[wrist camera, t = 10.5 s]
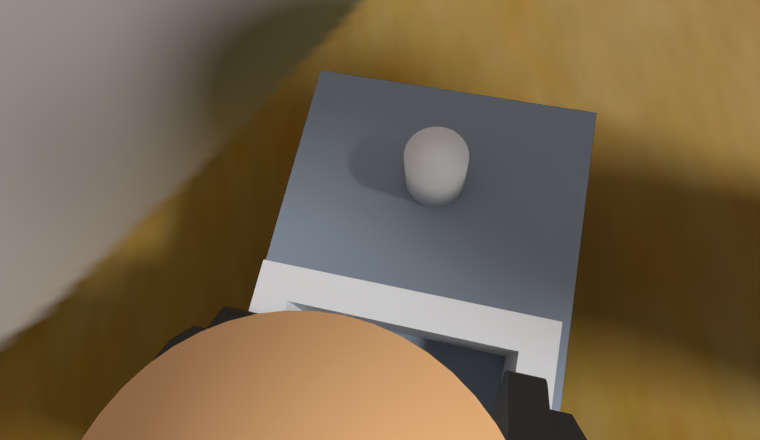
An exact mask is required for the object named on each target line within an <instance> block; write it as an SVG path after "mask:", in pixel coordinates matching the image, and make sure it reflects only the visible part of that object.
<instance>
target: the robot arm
mask: <svg viewBox="0 0 760 440" xmlns="http://www.w3.org/2000/svg"><path fill="white" fill-rule="evenodd" d="M254 314H259V313H254V312H250V311H245V310H241V309H237V308H232V307H224V308H223V309H222V310H221V311H220V312H219V313H218V315H217V316H216V317H215V318H214V320H213V321H212V322H211V323H210V325H209V326H208V327H207V329H209V328H212V327H214V326H217V325H219V324H222V323H224V322H227V321H230V320H234V319H238V318H242V317H246V316H250V315H254ZM204 330H206V329H205V328H201V327H197V326H193V327H191V328H189V329H188V330H186V331H184V332H183V333H181V334H180V335H178V336H176V337H175V338H173V339H171V340H170V341H169V342H168V343H167V344H166V345H165V347H164V348H163V349H162V350H161V351H160V353H159V354H158V355H157V356H156V357H155V358H154V360H155V359H156V358H158V357H159V356H161V355H162V354H163V353H165V352H166V351H168V350H169V349H170V348H172V347H173V346H175V345H177V344H179V343H181V342H183V341H184V340H186V339H188V338H190V337H192V336H194V335H195V334H197V333H199V332H201V331H204ZM491 418H492V419H493V420H494V422H495V423H496V424H497V426H498V428H499V430H500V431H501V433H502V435H503V437H504V438H505V440H587V439H586V437H585V436H584V434H583V432H582V431H581V429H580V427H579V426H578V424H577V422H576V421H575V419H574V417H573V416H572V414H568V413H564V412H559V411H555V410H551V409H550V405H549V394H548V384H547V380H546V379H545V378H540V377H536V376H531V375H527V374H523V373H518V372H514V371H509V370H506V371H505V373H504V375H503V378H502V382H501V385H500V389H499V392H498V396H497V399H496V403H495V406H494V410H493V413H492V417H491Z"/></svg>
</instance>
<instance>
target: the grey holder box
mask: <svg viewBox="0 0 760 440" xmlns="http://www.w3.org/2000/svg"><path fill="white" fill-rule="evenodd" d="M595 120H596V113H593V112H587V111H580V110H574V109H567V108H561V107H554V106H548V105H542V104H535V103H529V102H522V101H516V100H509V99H503V98H496V97H490V96H483V95H477V94H470V93H464V92H457V91H451V90H444V89H438V88H431V87H425V86H418V85H412V84H405V83H399V82H392V81H386V80H379V79H373V78H366V77H360V76H353V75H347V74H340V73H334V72H327V71H320V74H319V78H318V81H317V85H316V88H315V92H314V95H313V99H312V102H311V106H310V109H309V112H308V116H307V119H306V123H305V126H304V130H303V133H302V137H301V140H300V144H299V147H298V150H297V154H296V157H295V161H294V164H293V168H292V171H291V175H290V178H289V181H288V185H287V188H286V192H285V195H284V199H283V202H282V206H281V209H280V213H279V216H278V219H277V223H276V226H275V230H274V233H273V237H272V240H271V244H270V247H269V250H268V254H267V257H266V260H264V259H263V263H262V266H261V270H260V273H259V277H258V280H257V283H256V287H255V290H254V294H253V297H252V301H251V304H250V307H249V311H250V312H254V313H259V314H260V313H268V312H277V311H285V310H289V311H319V312H326V313H332V314H339V315H345V316H348V317H352V318H355V319H359V320H362V321H366V322H369V323H372V324H375V325H377V326H379V327H382V328H384V329H386V330H388V331H391V332H393V333H395V334H397V335H400V336H402V337H403V338H405V339H407V340H408V341H410V342H411V343H413V344H415V345H416V346H418V347H420V348H421V349H423V350H424V351H426V352H428V353H429V354H430V355H431V356H433V357H434V358H435V359H436V360H438V361H439V362H440V363H441V364H443V365H444V366H445V367H446V368H448V369H449V370H450V371H451V372H453V374H454V375H455V376H456V377H457V378H458V379H459V380H460V381H461V382H462V383H463V384H464V385H465V386H466V387H467V388H468V389H469V390H470V391H471V392H472V393H473V394H474V395H475V396H476V398H477V399H478V400H479V402H480V403H481V404H482V406H483V407H484V408H485V410H486V411H487V412H488V414H489V415H490V416H491V417H492V413H493V410H494V406H495V403H496V399H497V396H498V392H499V389H500V385H501V382H502V378H503V375H504V373H505V371H506V370H509V371H514V372H518V373H523V374H527V375H531V376H536V377H540V378H545V379H546V380H547V384H548V394H549V405H550V409H551V410H555V411H559V412H560V407H561V398H562V390H563V382H564V374H565V366H566V358H567V349H568V341H569V333H570V325H571V317H572V308H573V300H574V292H575V284H576V276H577V267H578V259H579V251H580V243H581V235H582V227H583V218H584V210H585V202H586V194H587V186H588V177H589V169H590V161H591V153H592V145H593V137H594V128H595Z"/></svg>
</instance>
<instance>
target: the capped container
mask: <svg viewBox="0 0 760 440" xmlns="http://www.w3.org/2000/svg"><path fill="white" fill-rule="evenodd" d="M81 440H505V438H504V437H503V435H502V433H501V431H500V430H499V428H498V426H497V424H496V423H495V422H494V420H493V419H492V418H491V416H490V415H489V414H488V412H487V411H486V410H485V408H484V407H483V406H482V404H481V403H480V402H479V400H478V399H477V398H476V396H475V395H474V394H473V393H472V392H471V391H470V390H469V389H468V388H467V387H466V386H465V385H464V384H463V383H462V382H461V381H460V380H459V379H458V378H457V377H456V376H455V375H454V374H453V372H451V371H450V370H449V369H448V368H446V367H445V366H444V365H443V364H441V363H440V362H439V361H438V360H436V359H435V358H434V357H433V356H431V355H430V354H429V353H428V352H426V351H424V350H423V349H421V348H420V347H418V346H416V345H415V344H413V343H411V342H410V341H408V340H407V339H405V338H403V337H402V336H400V335H397V334H395V333H393V332H391V331H388V330H386V329H384V328H382V327H379V326H377V325H375V324H372V323H369V322H366V321H362V320H359V319H355V318H352V317H348V316H345V315H339V314H332V313H326V312H319V311H289V310H285V311H277V312H268V313H260V314H254V315H250V316H246V317H242V318H238V319H234V320H230V321H227V322H224V323H222V324H219V325H217V326H214V327H212V328H209V329H206V330H204V331H201V332H199V333H197V334H195V335H194V336H192V337H190V338H188V339H186V340H184V341H183V342H181V343H179V344H177V345H175V346H173V347H172V348H170V349H169V350H168V351H166V352H165V353H163V354H162V355H161V356H159V357H158V358H156V359H155V360H153V361H152V362H151V363H149V364H148V365H147V366H145V367H144V368H143V369H142V370H141V371H140V372H139V373H138V374H137V375H135V376H134V377H133V378H132V379H131V380H130V381H129V382H128V383H127V384H126V385H124V386H123V387H122V388H121V390H120V391H119V392H118V393H117V394H116V395H115V396H114V398H113V399H112V400H111V401H110V402H109V403H108V404H107V405H106V407H105V408H104V409H103V410H102V411H101V412H100V414H99V415H98V417H97V418H96V419H95V421H94V422H93V424H92V425H91V427H90V428H89V429H88V431H87V432H86V434H85V435H84V436H83V438H82V439H81Z"/></svg>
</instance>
